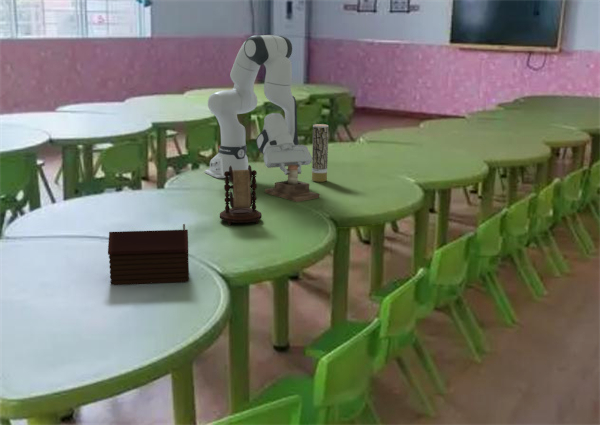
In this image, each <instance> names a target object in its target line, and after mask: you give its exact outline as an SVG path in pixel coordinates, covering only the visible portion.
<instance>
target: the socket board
mask: <svg viewBox="0 0 600 425" xmlns="http://www.w3.org/2000/svg"><path fill="white" fill-rule="evenodd" d="M264 193H265V194H267V195H268V194H269V195H271V196H275V197H279V198H282V199H284V200H285V199H286V200H288V201H293V202H295V203H296V202H297V203H299V202H303V201H309V200H314V199H319V198H320V193H316V192H313V191H310V183H308V182H303V181H300V180H298V184H296V185H288V179H287V180H283V181H282V180H281V181H278V182H277V181H276V182H274V187H270V188H264Z"/></svg>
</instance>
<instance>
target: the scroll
mask: <svg viewBox="0 0 600 425" xmlns="http://www.w3.org/2000/svg"><path fill="white" fill-rule="evenodd" d="M257 174H258V173H257V170H255V169H252V166H251V165H250V164H248V170H232V167H231V166H230V167H229V172H228V171H226V172H225V173H224V175H225V176H226V177H225V178H224V179H225V180H224V183H225V184H224V186H223V189H224V191H225V193H224V196H225V197H224V202H225V203H224V205H225V206H224V210H223V211H221V212H220V213H219V218H220V220H221V221H225V222H227V223H228V225H229V226H231V225H232V223H238V224H239V223H245V224H246V223H252V222H254V223H255V224H256V225H257V224H258V223H259V221H260V220H261V219H262V212H260V211H259V210H257V204H256V203H257V196H256V195H257V191H256V190H257V188H258V185H257V180H256V178H257ZM228 176H229V177H228ZM230 182H231V185H230ZM230 190H233V192H232V191H230ZM251 190H252V191H251ZM229 205H230V206H229ZM230 207H231V208H230Z"/></svg>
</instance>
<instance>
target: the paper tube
mask: <svg viewBox="0 0 600 425" xmlns="http://www.w3.org/2000/svg"><path fill="white" fill-rule="evenodd" d="M328 150H329V125H328V124H324V123H319V124H318V123H317V124H312V150H311V151H312V154H311V156H312V161H311V181H312V182H315V183H324V182H325V183H326V181H327V180H328V160H329V159H328V158H329V157H328V156H329V155H328V153H329V151H328Z"/></svg>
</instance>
